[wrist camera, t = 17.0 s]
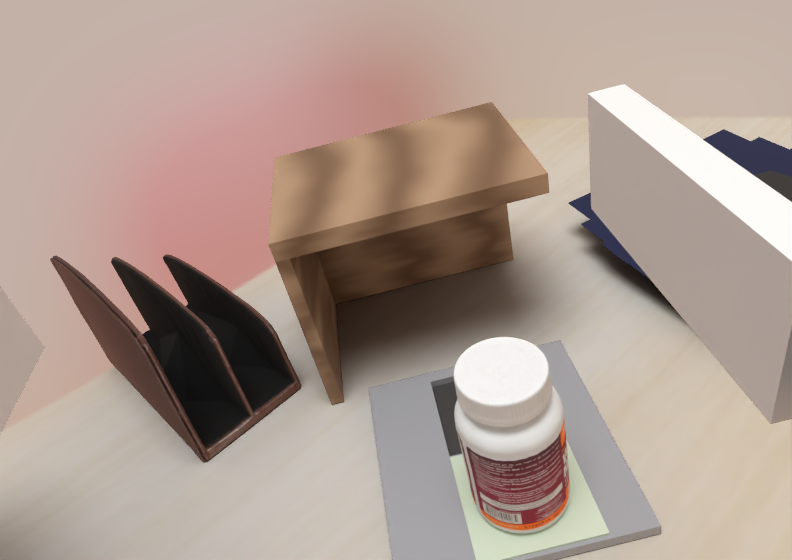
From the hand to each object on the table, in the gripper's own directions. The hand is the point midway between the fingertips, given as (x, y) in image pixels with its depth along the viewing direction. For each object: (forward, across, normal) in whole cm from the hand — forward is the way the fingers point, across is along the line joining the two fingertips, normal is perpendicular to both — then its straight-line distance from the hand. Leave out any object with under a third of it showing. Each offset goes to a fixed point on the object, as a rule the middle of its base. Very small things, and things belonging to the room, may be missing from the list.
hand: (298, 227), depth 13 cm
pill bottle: (+12, +6, -29) cm, 32 cm away
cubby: (+32, +3, -30) cm, 44 cm away
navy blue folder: (+29, +34, -30) cm, 54 cm away
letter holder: (+33, -18, -30) cm, 48 cm away
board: (+16, +5, -30) cm, 34 cm away
